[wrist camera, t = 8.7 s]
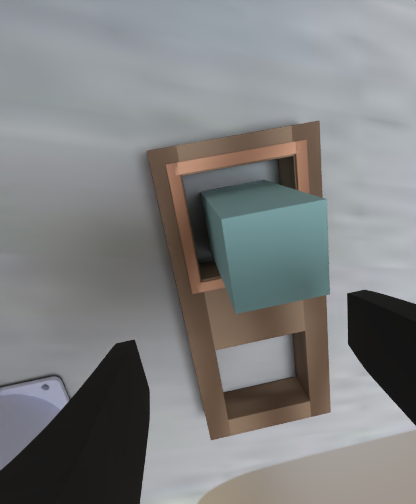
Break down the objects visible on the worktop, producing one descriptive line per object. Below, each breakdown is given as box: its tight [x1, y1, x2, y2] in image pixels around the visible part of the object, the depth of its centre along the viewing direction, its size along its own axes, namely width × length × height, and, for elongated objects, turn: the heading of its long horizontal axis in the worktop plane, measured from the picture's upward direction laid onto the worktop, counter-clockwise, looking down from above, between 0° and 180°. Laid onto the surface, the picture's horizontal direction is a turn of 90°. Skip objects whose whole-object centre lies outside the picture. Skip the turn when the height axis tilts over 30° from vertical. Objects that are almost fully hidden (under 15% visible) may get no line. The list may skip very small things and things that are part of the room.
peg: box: [201, 180, 330, 314], centre depth 15 cm, size 4×4×8 cm
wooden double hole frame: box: [147, 121, 331, 440], centre depth 20 cm, size 9×20×3 cm, turn 10°
